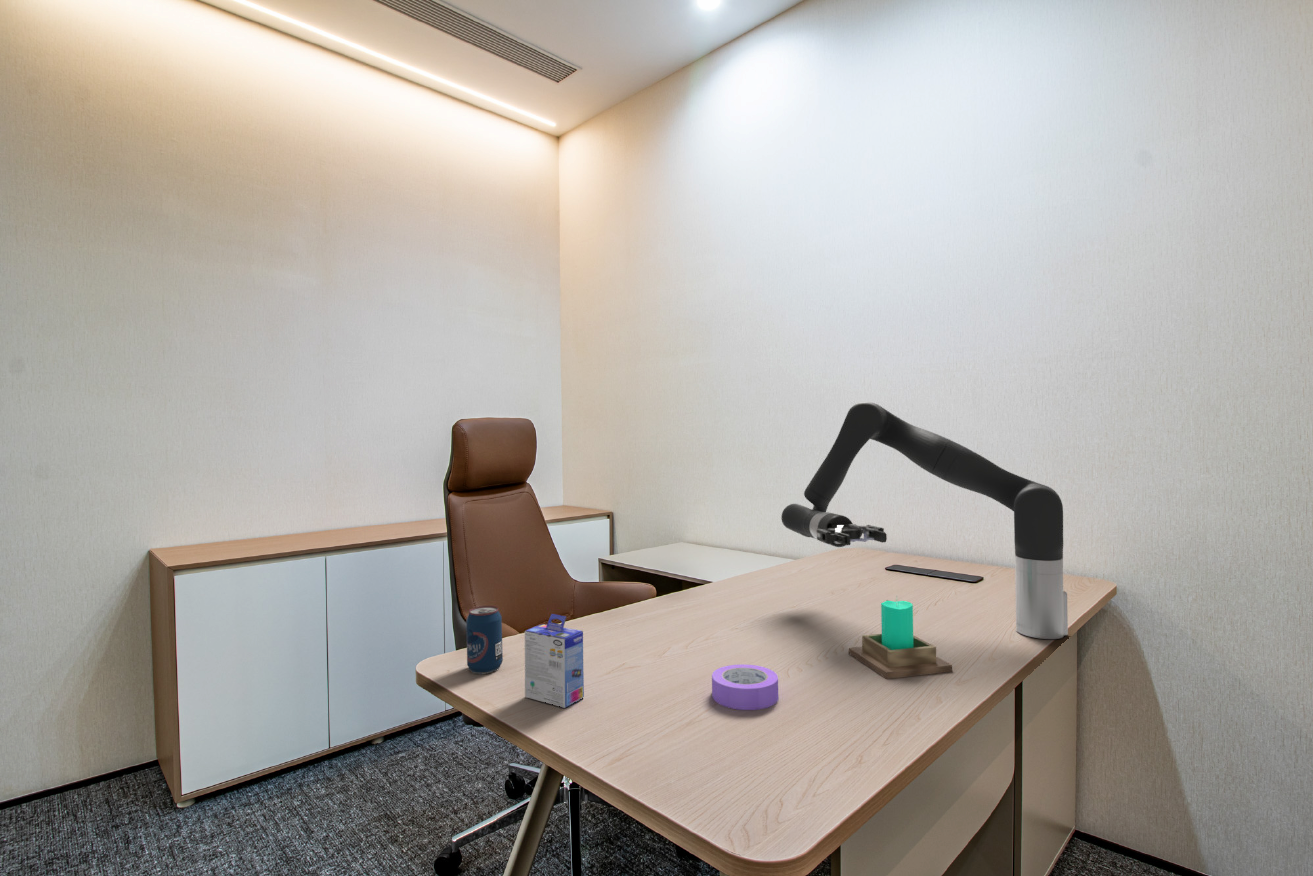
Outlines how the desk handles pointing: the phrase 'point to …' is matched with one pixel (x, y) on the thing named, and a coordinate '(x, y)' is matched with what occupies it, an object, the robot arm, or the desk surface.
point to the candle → (897, 624)
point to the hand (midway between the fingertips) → (867, 539)
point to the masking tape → (745, 687)
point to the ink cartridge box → (554, 663)
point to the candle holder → (899, 658)
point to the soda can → (484, 639)
